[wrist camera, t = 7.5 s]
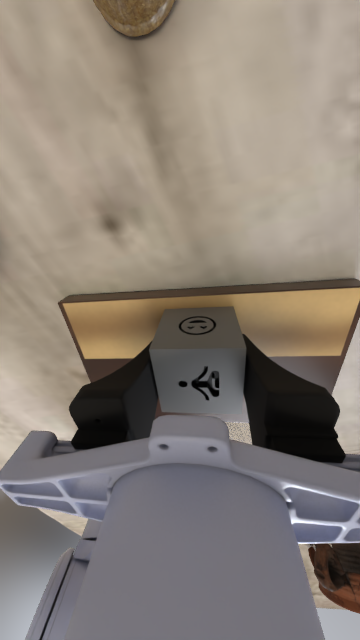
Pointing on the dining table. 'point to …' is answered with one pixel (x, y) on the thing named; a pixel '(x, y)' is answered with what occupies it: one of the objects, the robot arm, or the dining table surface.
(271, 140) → the dining table surface
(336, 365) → the walnut board
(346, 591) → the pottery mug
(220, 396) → the dice cube
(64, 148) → the dining table surface
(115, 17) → the sprinkles bottle
